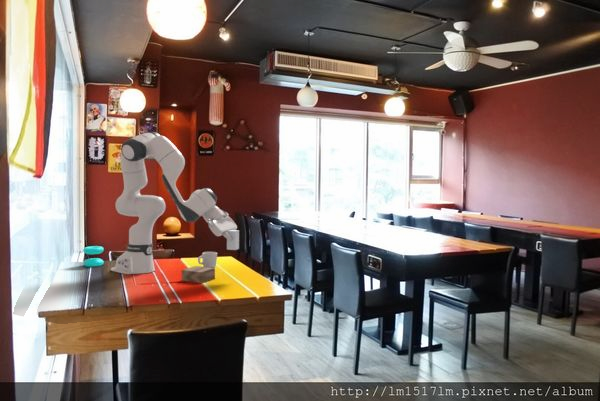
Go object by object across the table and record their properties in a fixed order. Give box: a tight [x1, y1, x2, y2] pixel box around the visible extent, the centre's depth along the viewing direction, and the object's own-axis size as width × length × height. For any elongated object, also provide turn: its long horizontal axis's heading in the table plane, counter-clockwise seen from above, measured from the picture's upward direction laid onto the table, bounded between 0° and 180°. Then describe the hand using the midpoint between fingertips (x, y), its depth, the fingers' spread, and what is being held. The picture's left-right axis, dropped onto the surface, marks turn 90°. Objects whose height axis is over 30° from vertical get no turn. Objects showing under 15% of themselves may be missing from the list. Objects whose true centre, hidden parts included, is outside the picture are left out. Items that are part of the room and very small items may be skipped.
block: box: [226, 229, 240, 251], centre depth 220 cm, size 4×4×9 cm
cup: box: [197, 251, 218, 268], centre depth 246 cm, size 11×8×8 cm
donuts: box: [82, 245, 104, 268], centre depth 246 cm, size 10×10×10 cm
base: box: [181, 265, 216, 284], centre depth 218 cm, size 11×11×5 cm
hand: (234, 239), depth 220 cm, fingers closed on block, 4 cm apart
